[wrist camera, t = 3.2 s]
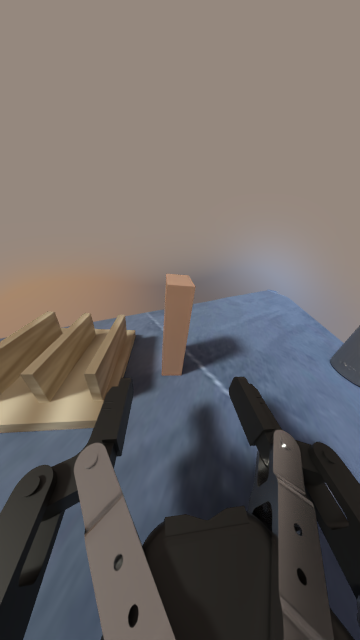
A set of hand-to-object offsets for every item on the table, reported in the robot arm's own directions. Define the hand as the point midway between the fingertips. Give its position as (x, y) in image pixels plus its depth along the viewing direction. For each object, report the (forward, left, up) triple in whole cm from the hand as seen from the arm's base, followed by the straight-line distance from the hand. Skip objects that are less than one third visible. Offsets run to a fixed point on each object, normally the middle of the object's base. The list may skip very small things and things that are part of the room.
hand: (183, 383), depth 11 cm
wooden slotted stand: (+14, -9, -8) cm, 19 cm away
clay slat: (0, -10, -8) cm, 13 cm away
